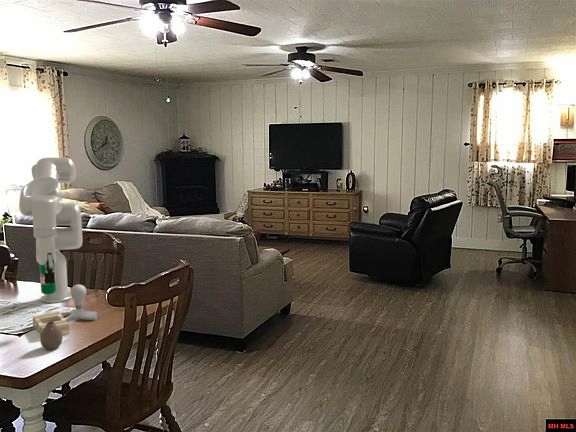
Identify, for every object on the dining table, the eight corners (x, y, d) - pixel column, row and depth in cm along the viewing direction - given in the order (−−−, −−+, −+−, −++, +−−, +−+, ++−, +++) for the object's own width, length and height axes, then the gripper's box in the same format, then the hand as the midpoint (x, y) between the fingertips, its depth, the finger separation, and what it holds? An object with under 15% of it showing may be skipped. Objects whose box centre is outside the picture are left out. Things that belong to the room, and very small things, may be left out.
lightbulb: (81, 313, 207) (80, 287, 205) (68, 312, 208) (66, 286, 206) (90, 308, 213) (89, 283, 211) (77, 307, 214) (75, 282, 212)
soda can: (38, 293, 185) (36, 261, 184) (49, 289, 190) (47, 258, 188) (48, 295, 183) (46, 263, 181) (59, 291, 188) (57, 260, 186)
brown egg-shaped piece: (45, 344, 175) (43, 319, 174) (66, 343, 176) (64, 319, 174) (37, 352, 168) (35, 326, 167) (58, 351, 169) (57, 326, 168)
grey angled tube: (61, 319, 199) (60, 312, 199) (91, 314, 206) (91, 307, 205) (66, 325, 193) (66, 318, 192) (97, 319, 199) (97, 312, 199)
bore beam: (33, 326, 192) (32, 315, 191) (58, 321, 197) (58, 311, 197) (42, 339, 179) (41, 328, 179) (69, 333, 185) (68, 323, 184)
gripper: (29, 229, 188) (32, 277, 191) (38, 237, 174) (42, 288, 177) (51, 227, 192) (53, 274, 195) (62, 235, 179) (64, 285, 181)
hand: (48, 280), depth 186 cm, fingers closed on soda can, 5 cm apart
